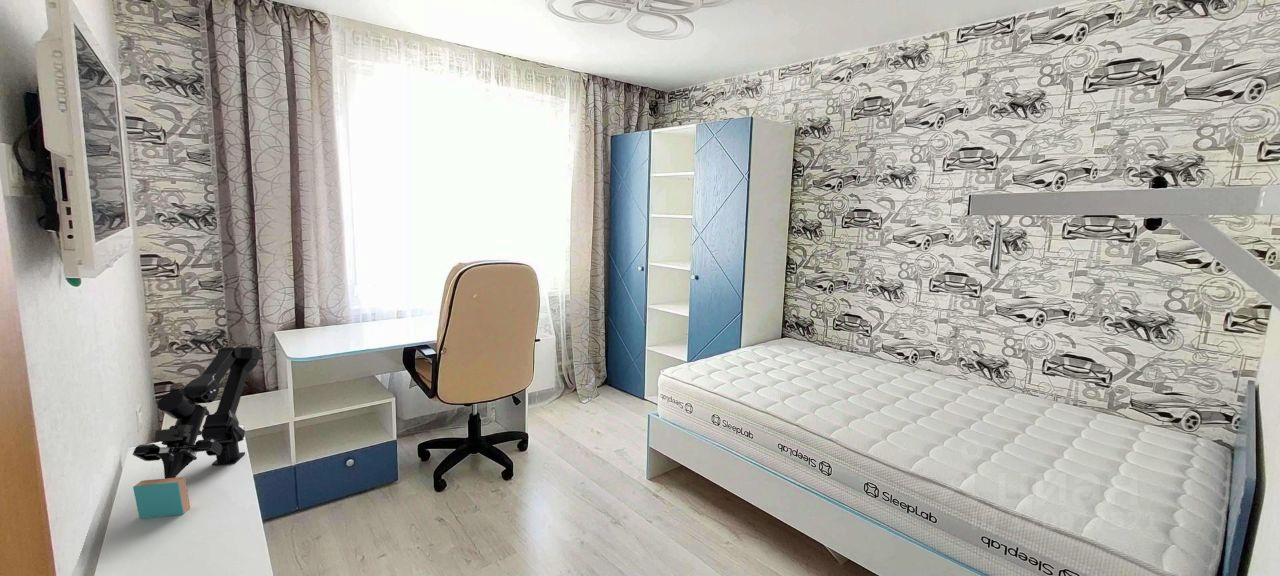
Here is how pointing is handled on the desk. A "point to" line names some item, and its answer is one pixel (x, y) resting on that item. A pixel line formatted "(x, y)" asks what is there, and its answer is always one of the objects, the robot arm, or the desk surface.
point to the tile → (161, 497)
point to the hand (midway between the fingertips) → (167, 481)
